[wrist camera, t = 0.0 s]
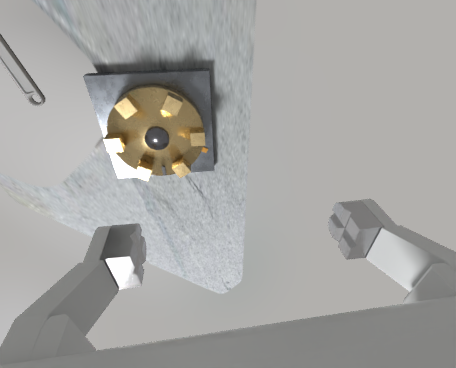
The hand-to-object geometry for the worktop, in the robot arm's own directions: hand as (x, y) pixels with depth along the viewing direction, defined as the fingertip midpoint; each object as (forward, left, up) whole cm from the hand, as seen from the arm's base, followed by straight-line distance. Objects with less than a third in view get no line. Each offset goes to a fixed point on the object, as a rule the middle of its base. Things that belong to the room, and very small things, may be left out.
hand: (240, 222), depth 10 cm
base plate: (+16, -10, -48) cm, 52 cm away
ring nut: (+16, -10, -46) cm, 50 cm away
